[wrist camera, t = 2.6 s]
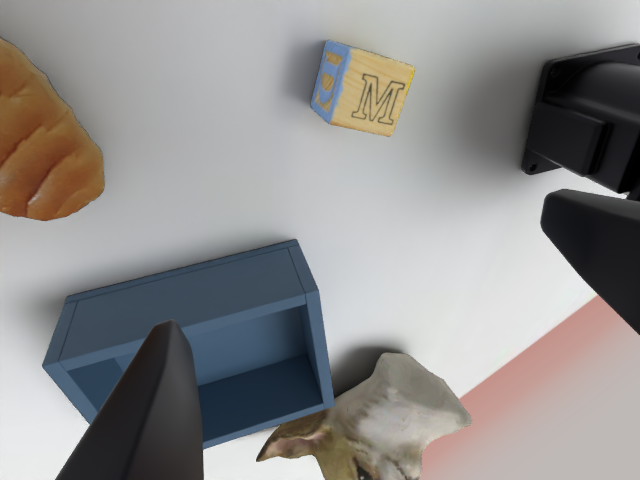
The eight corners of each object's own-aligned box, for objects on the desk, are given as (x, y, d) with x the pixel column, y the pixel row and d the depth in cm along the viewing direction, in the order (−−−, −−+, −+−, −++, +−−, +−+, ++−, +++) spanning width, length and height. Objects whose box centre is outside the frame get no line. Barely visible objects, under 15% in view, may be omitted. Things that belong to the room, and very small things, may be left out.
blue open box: (296, 238, 22) (318, 290, 19) (315, 350, 28) (335, 406, 25) (66, 296, 20) (40, 366, 17) (137, 404, 26) (129, 474, 22)
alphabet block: (326, 36, 17) (349, 46, 15) (387, 55, 18) (418, 67, 16) (308, 106, 19) (327, 126, 16) (366, 120, 20) (391, 140, 17)
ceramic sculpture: (521, 461, 27) (361, 557, 31) (457, 358, 34) (333, 448, 38) (442, 426, 21) (257, 550, 25) (384, 309, 28) (246, 422, 32)
